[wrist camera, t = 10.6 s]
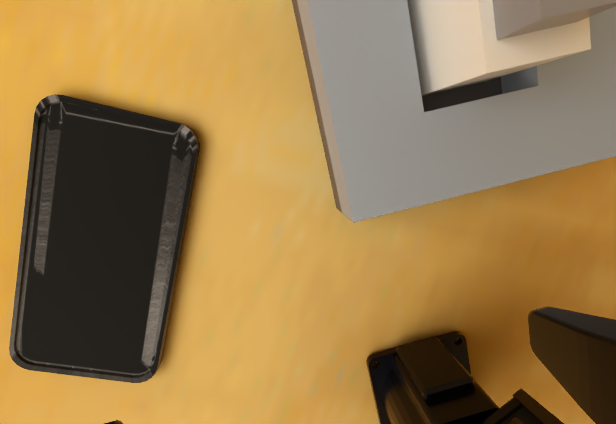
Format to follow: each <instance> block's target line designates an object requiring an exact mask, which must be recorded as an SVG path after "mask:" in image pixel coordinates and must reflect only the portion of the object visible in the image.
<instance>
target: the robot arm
mask: <svg viewBox="0 0 616 424" xmlns="http://www.w3.org/2000/svg"><path fill="white" fill-rule="evenodd" d="M528 323H529V334H530V344H531V348H532V350H533V352H534V353H535V355H536V356H537V357H538V359H539V360H540V361H541V362H542V363H543V364H544V366H545V367H546V368H547V369H548V370H549V371H550V372H551V374H552V375H553V376H554V377H555V378H556V379H557V380H558V382H559V383H560V384H561V385H562V386H563V387H564V389H565V390H566V391H567V392H568V393H569V394H570V395H571V397H572V398H573V399H574V400H575V401H576V402H577V404H578V405H579V406H580V407H581V408H582V409H583V410H584V411H585V412H586V414H587V415H588V416H589V417H590V418H591V419H592V420H593V421H594V422H595V423H596V424H616V320H614V319H609V318H604V317H599V316H594V315H588V314H583V313H578V312H573V311H568V310H563V309H558V308H553V307H543V308H540V309H536V310H532V311H531V312H530V313H529V315H528ZM457 338H459V339H458V341H456V342H455V340H456V339H457ZM375 361H378V362H377V364H375V365H372V364H373V362H375ZM367 367H368V372H369V377H370V381H371V386H372V390H373V395H374V400H375V404H376V409H377V413H378V418H379V423H380V424H564V423H562V422H561V421H560V420H559V419H558V418H556V417H555V416H554V415H553V414H551V413H550V412H549V411H548V410H547V409H545V408H544V407H543V406H542V405H541V404H539V403H538V402H537V401H536V400H534V399H533V398H532V397H531V396H530V395H528V394H527V393H526V392H525V391H524V390H522V389H520V390H519V391H517V392H516V393H515V394H513V398H512V399H511V400H510V401H508V402H507V403H506V404H504V405H503V406H502V407H501V408H499V407H498V406H497V405H496V404H495V403H494V401H493V400H492V399H491V398H490V397H489V396H488V395H487V394H486V392H485V391H484V390H483V389H482V388H481V387H480V386H479V385H478V383H477V382H476V381H475V380H474V379H473V377H472V376H471V372H470V365H469V358H468V352H467V345H466V339H465V337H464V336H463V335H462V334H461V333H460V332H458V331H455V332H451V333H447V334H444V335H440V336H436V337H431V338H427V339H424V340H420V341H417V342H413V343H410V344H406V345H402V346H399V347H397V348H394V349H390V350H386V351H383V352H379V353H376V354H372V355H370V356H369V357H368V359H367ZM105 424H123V423H122V422H121V421H118V420H116V421H112V422H109V423H105Z"/></svg>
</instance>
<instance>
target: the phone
mask: <svg viewBox="0 0 616 424" xmlns="http://www.w3.org/2000/svg"><path fill="white" fill-rule="evenodd" d="M199 148H200V143H199V140H198V137H197V135H196V134H195V132H194V131H193V130H192V129H190V128H189V127H188V126H186V125H183V124H180V123H177V122H173V121H169V120H164V119H160V118H156V117H152V116H148V115H144V114H139V113H135V112H131V111H127V110H123V109H118V108H114V107H110V106H106V105H102V104H98V103H93V102H89V101H85V100H81V99H77V98H72V97H68V96H64V95H51V96H47V97H46V98H44V99H42V100H41V101H40V102H39V104H38V105H37V107H36V110H35V114H34V124H33V133H32V143H31V152H30V161H29V171H28V180H27V189H26V198H25V208H24V217H23V226H22V236H21V245H20V254H19V263H18V273H17V282H16V291H15V300H14V310H13V319H12V328H11V337H10V347H9V350H10V356H11V358H12V360H13V361H14V362H15V363H16V364H17V365H18V366H20V367H22V368H24V369H28V370H34V371H42V372H50V373H58V374H66V375H74V376H82V377H90V378H99V379H107V380H115V381H123V382H131V383H141V382H144V381H147V380H148V379H150V378H152V376H153V375H154V374H155V373H156V371H157V369H158V367H159V365H160V362H161V359H162V353H163V348H164V342H165V337H166V331H167V326H168V320H169V315H170V309H171V304H172V298H173V293H174V287H175V282H176V276H177V271H178V265H179V260H180V254H181V249H182V243H183V238H184V232H185V227H186V222H187V216H188V211H189V205H190V200H191V194H192V189H193V183H194V178H195V172H196V167H197V161H198V156H199Z"/></svg>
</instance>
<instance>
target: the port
mask: <svg viewBox="0 0 616 424" xmlns="http://www.w3.org/2000/svg"><path fill="white" fill-rule="evenodd" d="M292 2H293V7H294V12H295V16H296V21H297V26H298V30H299V35H300V40H301V44H302V49H303V54H304V58H305V63H306V68H307V72H308V77H309V82H310V86H311V91H312V95H313V100H314V105H315V109H316V114H317V119H318V123H319V128H320V133H321V137H322V142H323V147H324V151H325V156H326V161H327V165H328V170H329V175H330V179H331V184H332V188H333V193H334V198H335V202H336V207H337V209H338V210H339V211H341V212H342V213H343V214H344V215H345V216H346V217H347V218H348V219H350V220H351V221H352V222H353V223H354V222H358V221H362V220H366V219H370V218H374V217H378V216H382V215H386V214H390V213H394V212H398V211H402V210H406V209H410V208H414V207H418V206H422V205H426V204H430V203H434V202H437V201H441V200H445V199H449V198H453V197H457V196H461V195H465V194H469V193H473V192H477V191H481V190H485V189H489V188H493V187H497V186H501V185H505V184H509V183H513V182H517V181H521V180H525V179H528V178H532V177H536V176H540V175H544V174H548V173H552V172H556V171H560V170H564V169H568V168H572V167H576V166H580V165H584V164H588V163H592V162H596V161H600V160H604V159H608V158H612V157H616V6H615V7H612V8H610V9H607V10H605V11H602V12H600V13H598V14H595V15H593V16H590V17H589V21H590V39H591V49H589V50H586V51H583V52H580V53H576V54H573V55H570V56H567V57H563V58H560V59H557V60H554V61H550V62H547V63H544V64H540V65H537V66H534V67H531V68H527V69H524V70H521V71H518V72H514V73H511V74H508V75H504V76H501V77H498V78H495V79H491V80H488V81H484V82H480V83H476V84H471V85H467V86H463V87H459V88H454V89H450V90H446V91H442V92H437V93H433V94H429V95H425V96H422V95H421V88H420V82H419V75H418V68H417V62H416V55H415V49H414V42H413V35H412V29H411V22H410V16H409V9H408V2H407V0H292Z"/></svg>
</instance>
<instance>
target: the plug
mask: <svg viewBox="0 0 616 424" xmlns="http://www.w3.org/2000/svg"><path fill="white" fill-rule="evenodd" d="M407 2H408V9H409V16H410V22H411V29H412V35H413V42H414V49H415V55H416V62H417V68H418V75H419V82H420V88H421V95H422V96H425V95H429V94H433V93H437V92H442V91H446V90H450V89H454V88H459V87H463V86H467V85H471V84H476V83H480V82H484V81H488V80H491V79H495V78H498V77H501V76H504V75H508V74H511V73H514V72H518V71H521V70H524V69H527V68H531V67H534V66H537V65H540V64H544V63H547V62H550V61H554V60H557V59H560V58H563V57H567V56H570V55H573V54H576V53H580V52H583V51H586V50H589V49H591V39H590V21H589V17H590V16H593V15H595V14H598V13H600V12H602V11H605V10H607V9H610V8H612V7H615V6H616V0H407Z"/></svg>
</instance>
